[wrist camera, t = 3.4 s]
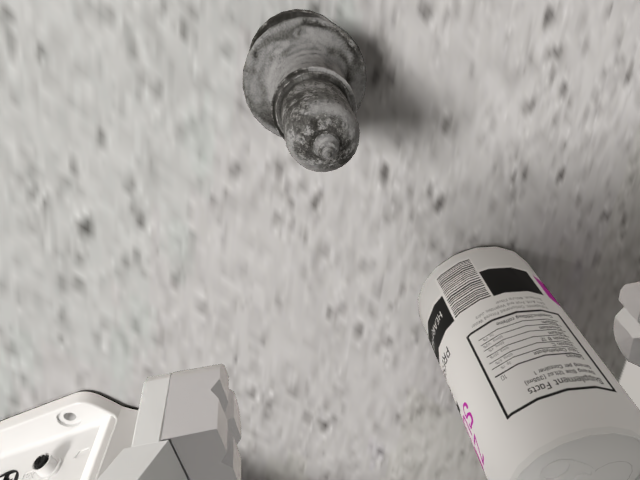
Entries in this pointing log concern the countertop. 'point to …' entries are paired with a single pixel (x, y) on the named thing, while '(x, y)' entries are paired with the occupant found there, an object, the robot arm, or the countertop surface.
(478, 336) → the supplement can
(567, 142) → the countertop surface
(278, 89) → the grey tall rounded piece
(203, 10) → the countertop surface
